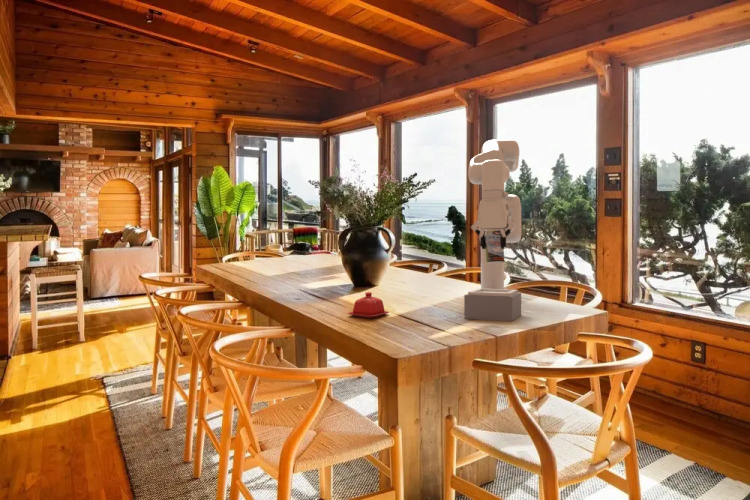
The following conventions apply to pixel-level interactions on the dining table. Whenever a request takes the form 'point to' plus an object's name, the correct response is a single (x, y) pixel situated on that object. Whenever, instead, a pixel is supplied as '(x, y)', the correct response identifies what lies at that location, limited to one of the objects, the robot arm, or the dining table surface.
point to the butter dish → (368, 307)
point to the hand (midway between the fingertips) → (493, 248)
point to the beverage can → (494, 247)
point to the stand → (492, 304)
